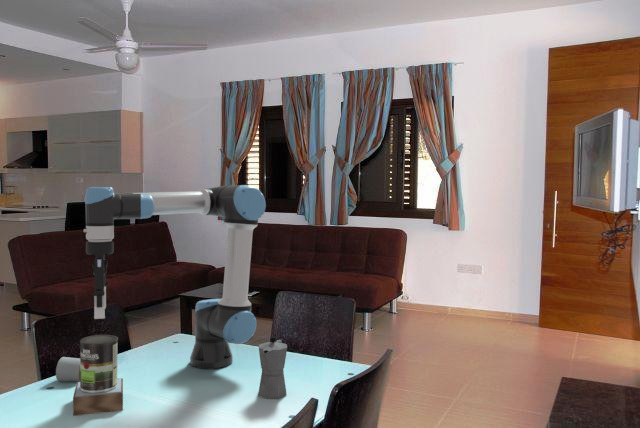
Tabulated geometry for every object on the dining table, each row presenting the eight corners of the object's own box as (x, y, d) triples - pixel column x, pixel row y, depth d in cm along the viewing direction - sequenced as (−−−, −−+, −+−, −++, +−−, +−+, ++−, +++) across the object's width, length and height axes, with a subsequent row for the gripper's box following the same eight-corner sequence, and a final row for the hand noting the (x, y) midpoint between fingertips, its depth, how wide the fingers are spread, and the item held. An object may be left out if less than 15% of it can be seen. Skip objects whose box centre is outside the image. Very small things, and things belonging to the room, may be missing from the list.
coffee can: (100, 395, 157) (100, 345, 156) (71, 390, 161) (71, 341, 160) (125, 383, 166) (125, 336, 166) (98, 379, 170) (98, 333, 170)
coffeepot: (278, 403, 167) (279, 343, 166) (249, 399, 170) (250, 340, 169) (296, 386, 182) (297, 331, 181) (269, 382, 185) (269, 328, 184)
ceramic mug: (81, 384, 180) (81, 360, 180) (55, 384, 180) (55, 360, 180) (93, 374, 191) (93, 351, 191) (68, 374, 191) (68, 351, 191)
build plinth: (122, 394, 172) (122, 377, 172) (122, 410, 160) (122, 391, 160) (76, 399, 168) (76, 381, 168) (73, 415, 156) (73, 396, 156)
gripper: (88, 236, 173) (88, 305, 174) (83, 245, 149) (83, 324, 150) (114, 236, 175) (114, 303, 176) (113, 244, 152) (113, 322, 153)
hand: (100, 313), depth 163 cm, fingers open, 13 cm apart
